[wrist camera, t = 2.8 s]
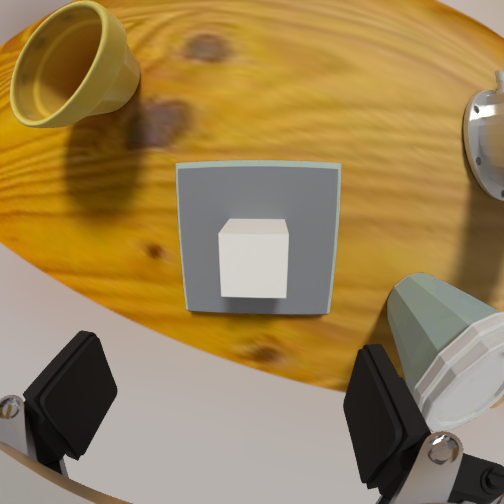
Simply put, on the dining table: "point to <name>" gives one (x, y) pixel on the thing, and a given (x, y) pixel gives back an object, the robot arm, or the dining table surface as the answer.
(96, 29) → the plant pot
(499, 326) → the disposable coffee cup
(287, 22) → the dining table surface
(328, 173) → the lid
